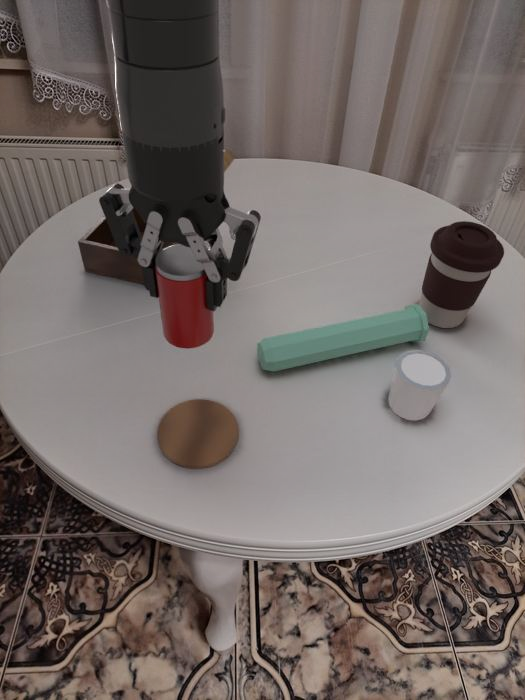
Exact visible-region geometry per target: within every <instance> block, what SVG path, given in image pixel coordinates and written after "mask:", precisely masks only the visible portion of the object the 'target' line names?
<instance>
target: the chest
mask: <svg viewBox="0 0 525 700" xmlns="http://www.w3.org/2000/svg"><path fill="white" fill-rule="evenodd" d="M132 211H133V214H134V216H135V219H136V222H137V225H138V228H139V231H140V233H141V236H142V238H143V235H144V232H145V229H146V225H147V224H146V223H145V222H144V220H143V219H142V218H141V217H140V215H139V214H138V213H137V211H136V210H135V209H134V208H133V209H132ZM77 243H78V244H77V245H78V248H79V253H80V256H81V261H82V265H83V269H84V272H87V273H92V274H96V275H101V276H104V277H109V278H113V279H118V280H122V281H126V282H131V283H134V284H135V283H136V284H139V285H143V286H144V280H143V274H142V267H141V265H140V264H139V263H138V260H137V259H136V258H134V257H132V256H129V257H124V256H122V255H121V254H120V253H119V251H118V248H117V245H116V243H115V240H114V238H113V235H112V233H111V230H110V228H109V225H108V223H107V220H106V218H105V215H104V214H103V216H102V217H101V218H99V220H98V221H97V222H96V223H94V225H93V226H92V227H90V229H88V231H87V232H86V233H85V234H84V235H83V236H82V237H81V238H80V239H79V240H77ZM167 245H168V243H167V242H163V245H162V248H161V251H162V250H163V249H165V248H167Z"/></svg>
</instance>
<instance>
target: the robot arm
mask: <svg viewBox="0 0 525 700" xmlns="http://www.w3.org/2000/svg"><path fill="white" fill-rule="evenodd" d="M106 6H107V13H108V18H109V26H110V33H111V39H112V46H113V53H114V56H113V57H114V72H115V73H114V75H115V77H114V78H115V79H114V80H115V93H116V94H115V95H116V102H117V109H118V116H119V123H120V130H121V136H122V143H123V149H124V155H125V156H124V157H125V163H126V170H127V177H128V180H129V183H130V188H125V187H124V185H122V184H120V183H117V182H116V183H114V184H113V185H112V186H111V187H109V188H108V189H107V191H106V192H104V193H103V194H101V196H100V197H99V199H98V202H99V205H100V207H101V210H102V213H103V216H104V215H105V218H106V220H107V223H108V225H109V228H110V230H111V233H112V235H113V238H114V240H115V243H116V245H117V248H118V251H119V253H120V254H121V255H122V256H124V257H129V256H132V257H134V258H136V259H137V260H138V263H139V264H140V265H141V267H142V274H143V280H144V285H143V287H144V288H145V290H146V291H149V292H148V293H149V296H150V297H152V298H156V299H159V295H158V288H157V280H156V272H155V264H156V263H155V260H156V257H157V255H158V253H159V252H160V251H161V248H162V245H163V242H167V243H179V244H181V245H183V246H186V247H190V248H191V249H192V251H193V254H194V256H195V258H196V260H197V261H198V262H201V263H202V265H203V268H204V270H205V272H206V274H207V276H208V278H207V280H206V300H207V310H211V311H213V312H216V310H217V309H218V308H221V306H222V304H223V302H224V301H225V299H226V297H227V295H228V280H230V281H232V282H237V281H239V280H240V279H241V276H242V273H243V271H244V269H245V268H246V267H247V265H248V263H249V260H250V257H251V252H252V250H253V246H254V242H255V239H256V235H257V233H258V229H259V226H260V223H261V219H262V217H261V214H260V213H259V211H257V210H254V209H251V210H249V211H248V212H247V213H245V212H243V211H241V210H238V209H236V208H233V207H231V206H230V203H229V201H228V198H227V196H226V193H225V190H224V189H225V173H224V150H225V122H226V108H225V104H224V103H225V102H224V101H225V99H224V83H223V82H224V81H223V76H222V75H223V74H222V69H221V68H222V67H221V56H220V55H221V54H220V0H106ZM133 208H134V209H135V210H136V211H137V213H138V214H139V215H140V217H141V218H142V219H143V220H144V222H145V223H146V224H147V225H146V229H145V232H144V235H143V238H142V236H141V233H140V231H139V228H138V225H137V222H136V219H135V216H134V214H133V211H132V209H133ZM223 223H225V224H226V225H227V226H228V229H229V235H230V238H231V240H233V241H234V244H233V247H232V251H231V255H230V257H228V256H227V254H226V251H225V248H224V246H223V236H222V234H221V231H220V229H219V227H220V226H221V225H222V224H223Z"/></svg>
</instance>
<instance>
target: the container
mask: <svg viewBox="0 0 525 700" xmlns="http://www.w3.org/2000/svg"><path fill="white" fill-rule="evenodd" d="M429 331H430V327H429V323H428V320H427V315H426V313H425V312H424V310H423V309H422V308H421V307H420V305H419V303H417V304H410V305H406V306H405V307H404V309H400V310H395V311H390V312H385V313H381V314H376V315H371V316H366V317H361V318H357V319H351V320H347V321H342V322H338V323H337V322H336V323H331V324H327V325H323V326H318V327H312V328H307V329H304V330H299V331H294V332H289V333H284V334H279V335H274V336H270V337H265V338H263V339H261V340H259V341H258V342H257V344H256V355H257V359H258V362H259V364H260V367H261V369H262V370H264V371H268V372H278V371H282V370H287V369H291V368H296V367H300V366H304V365H310V364H313V363H318V362H322V361H326V360H331V359H335V358H340V357H344V356H349V355H353V354H354V355H355V354H359V353H362V352H363V353H364V352H367V351H372V350H376V349H380V348H384V347H389V346H393V345H398V344H402V343H407V342H412V343H422V342H425V341H426V340H427V337H428V335H429Z"/></svg>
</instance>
